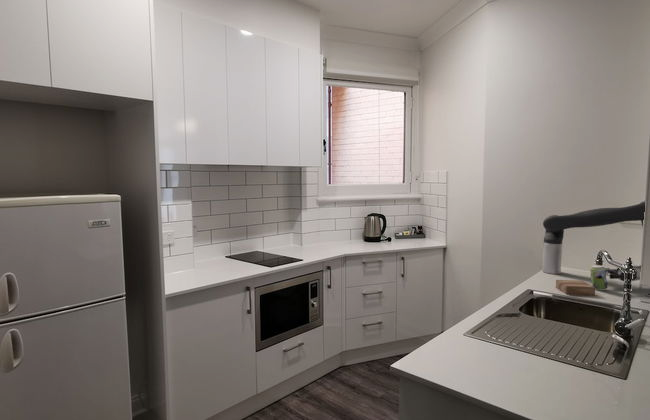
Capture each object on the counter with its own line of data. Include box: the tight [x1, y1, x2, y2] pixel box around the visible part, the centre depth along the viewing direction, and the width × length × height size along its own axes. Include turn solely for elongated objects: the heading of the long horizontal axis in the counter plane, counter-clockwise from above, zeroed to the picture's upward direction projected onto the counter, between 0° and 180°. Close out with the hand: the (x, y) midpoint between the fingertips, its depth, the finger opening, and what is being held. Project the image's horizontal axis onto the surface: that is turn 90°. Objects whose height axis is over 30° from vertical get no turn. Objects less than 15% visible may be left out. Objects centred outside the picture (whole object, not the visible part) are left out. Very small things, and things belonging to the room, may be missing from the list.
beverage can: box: [589, 264, 608, 291], centre depth 187 cm, size 6×7×12 cm
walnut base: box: [555, 279, 596, 297], centre depth 184 cm, size 12×12×4 cm
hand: (602, 274), depth 187 cm, fingers open, 8 cm apart
